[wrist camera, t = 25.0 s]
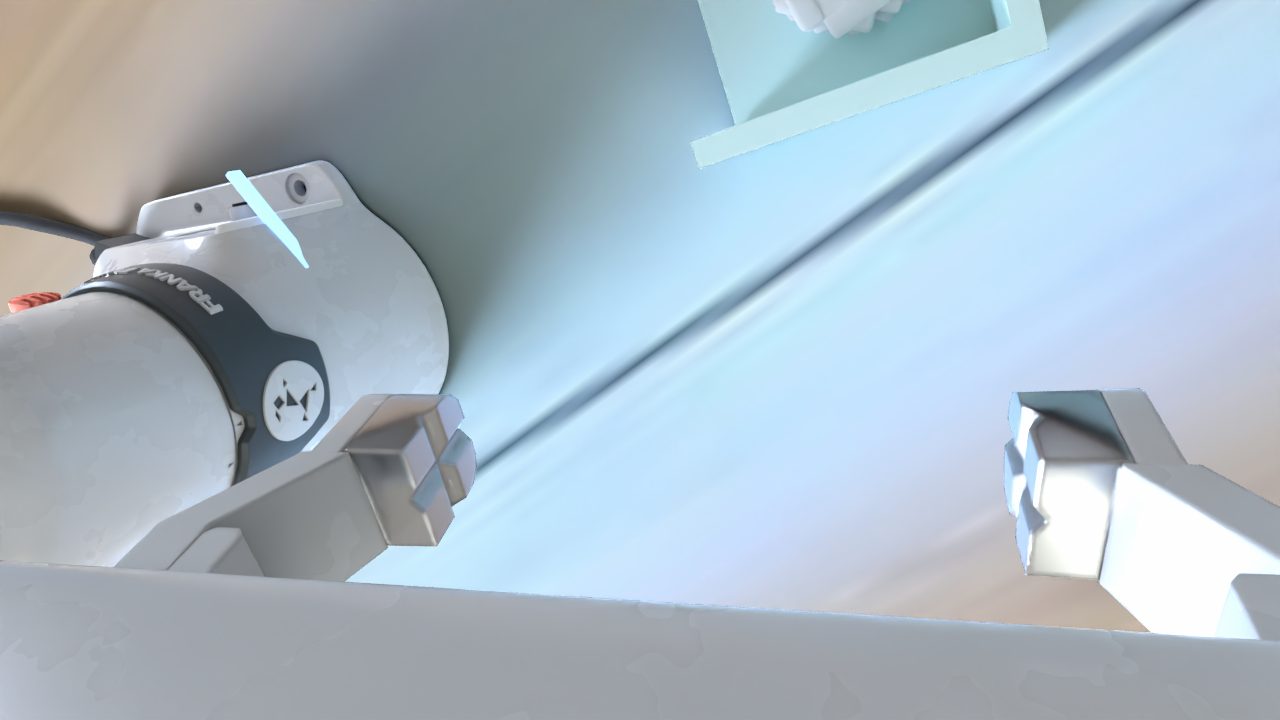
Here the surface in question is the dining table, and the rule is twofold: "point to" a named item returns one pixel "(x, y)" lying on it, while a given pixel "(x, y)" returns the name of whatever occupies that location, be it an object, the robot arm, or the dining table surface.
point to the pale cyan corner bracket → (848, 58)
